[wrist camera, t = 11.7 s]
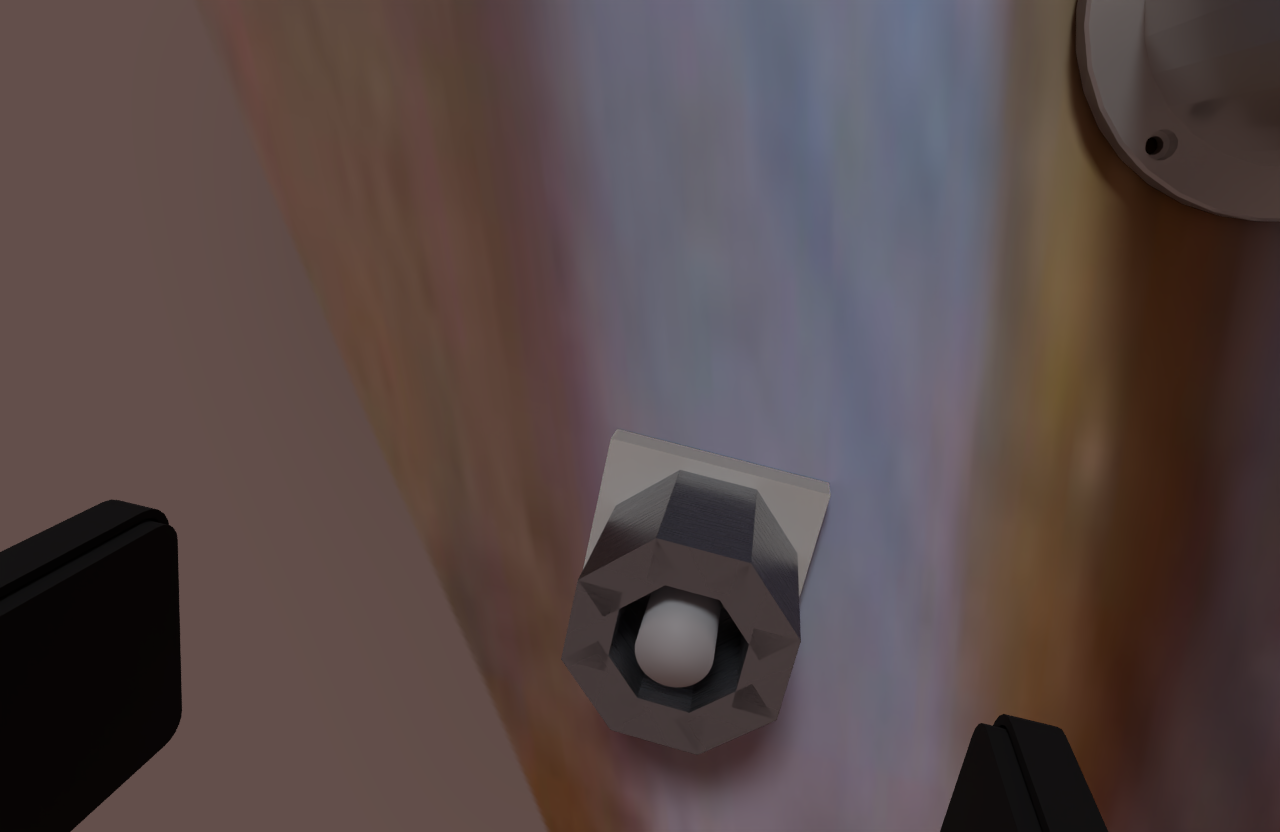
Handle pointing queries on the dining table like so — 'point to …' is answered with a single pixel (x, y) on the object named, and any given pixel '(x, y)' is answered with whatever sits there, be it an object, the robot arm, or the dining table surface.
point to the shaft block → (681, 620)
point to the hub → (702, 564)
